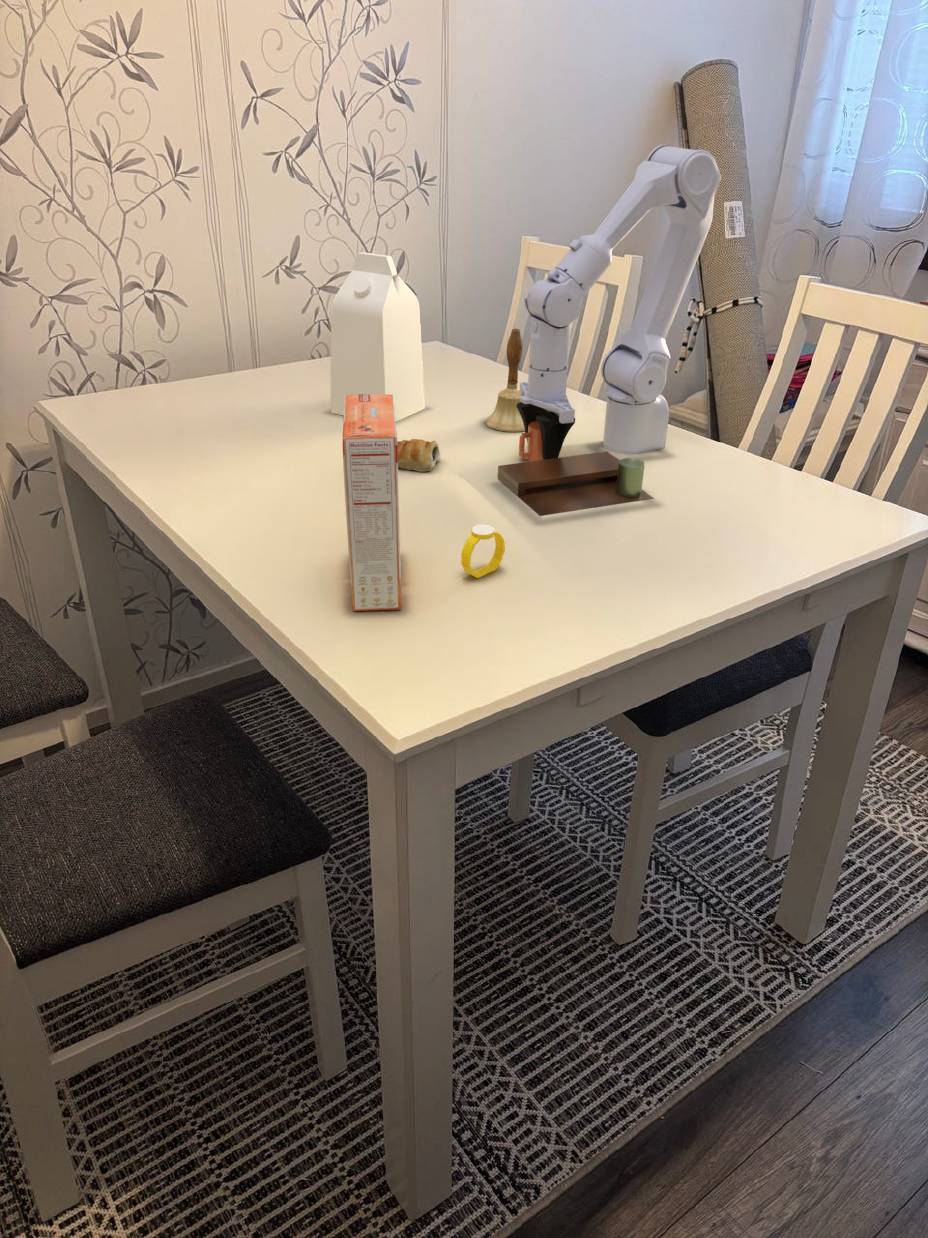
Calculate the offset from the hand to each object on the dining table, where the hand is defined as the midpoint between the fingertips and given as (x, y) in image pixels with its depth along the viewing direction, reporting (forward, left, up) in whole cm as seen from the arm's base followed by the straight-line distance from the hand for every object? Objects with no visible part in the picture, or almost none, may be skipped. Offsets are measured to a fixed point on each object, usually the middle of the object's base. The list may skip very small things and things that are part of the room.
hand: (542, 454), depth 149 cm
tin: (-6, +16, -1) cm, 17 cm away
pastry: (+19, -7, -2) cm, 20 cm away
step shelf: (+1, +12, -2) cm, 13 cm away
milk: (+16, -33, -2) cm, 36 cm away
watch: (+23, +30, -2) cm, 38 cm away
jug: (0, 0, -1) cm, 1 cm away
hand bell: (-3, -19, -2) cm, 19 cm away
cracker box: (+36, +28, -2) cm, 46 cm away
